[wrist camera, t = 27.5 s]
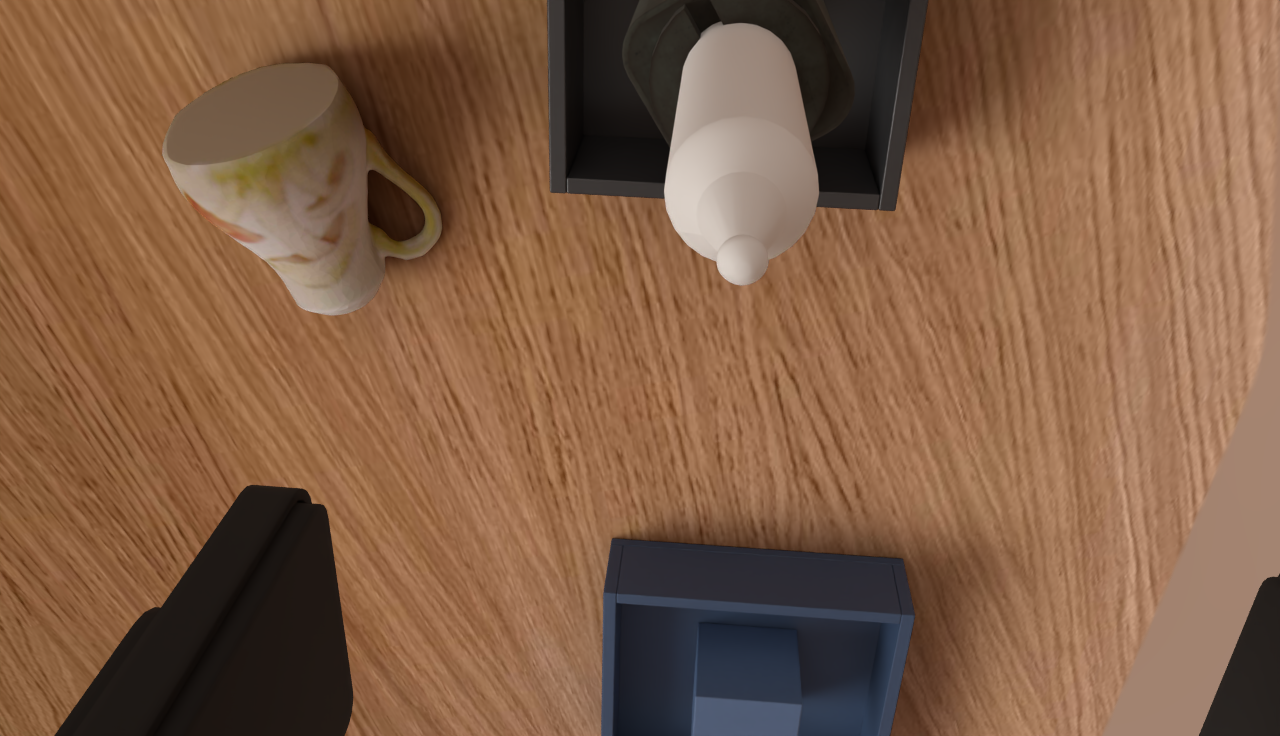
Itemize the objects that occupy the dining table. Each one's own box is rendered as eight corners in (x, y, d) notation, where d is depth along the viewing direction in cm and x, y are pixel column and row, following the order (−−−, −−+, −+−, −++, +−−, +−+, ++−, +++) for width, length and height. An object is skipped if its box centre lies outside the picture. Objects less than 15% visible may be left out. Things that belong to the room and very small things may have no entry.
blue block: (797, 629, 54) (802, 705, 50) (787, 699, 56) (792, 778, 52) (698, 621, 54) (695, 696, 50) (692, 692, 57) (689, 769, 52)
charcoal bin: (927, -188, 36) (956, -180, 31) (877, 160, 42) (895, 211, 37) (568, -201, 37) (544, -194, 32) (569, 144, 43) (549, 193, 38)
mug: (302, 312, 48) (123, 313, 38) (302, 91, 47) (121, 37, 38) (448, 317, 45) (295, 319, 36) (451, 84, 45) (296, 23, 35)
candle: (708, 81, 41) (682, 449, 19) (640, -42, 39) (523, 211, 17) (831, 12, 39) (956, 327, 17) (767, -120, 37) (817, 49, 15)
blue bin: (903, 558, 52) (915, 615, 48) (864, 758, 59) (872, 821, 55) (611, 537, 52) (603, 592, 49) (607, 738, 60) (600, 799, 56)
